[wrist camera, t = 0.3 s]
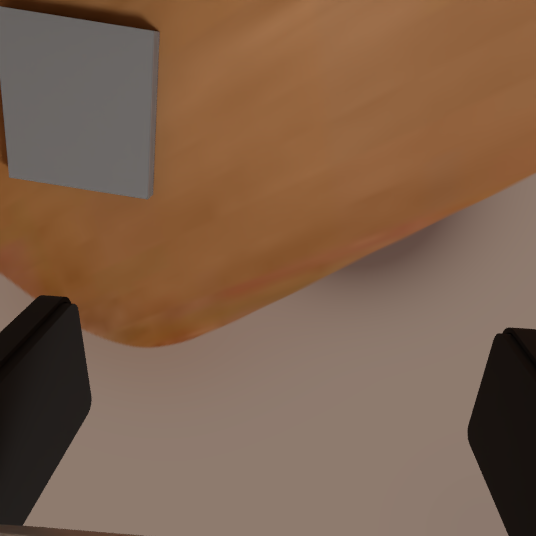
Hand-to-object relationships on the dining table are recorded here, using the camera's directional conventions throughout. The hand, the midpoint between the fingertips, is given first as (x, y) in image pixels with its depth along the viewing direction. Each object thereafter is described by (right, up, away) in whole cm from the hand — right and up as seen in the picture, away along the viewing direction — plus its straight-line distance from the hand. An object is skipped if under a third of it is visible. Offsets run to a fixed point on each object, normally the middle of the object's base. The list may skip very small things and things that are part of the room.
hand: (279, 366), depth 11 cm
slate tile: (-15, +15, +28) cm, 36 cm away
